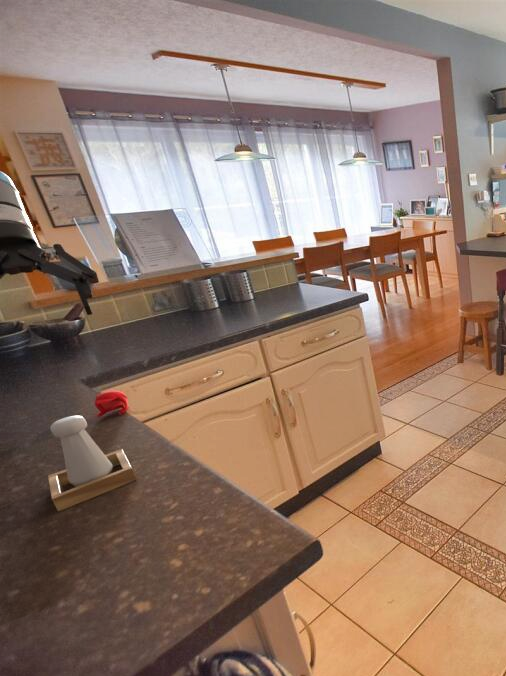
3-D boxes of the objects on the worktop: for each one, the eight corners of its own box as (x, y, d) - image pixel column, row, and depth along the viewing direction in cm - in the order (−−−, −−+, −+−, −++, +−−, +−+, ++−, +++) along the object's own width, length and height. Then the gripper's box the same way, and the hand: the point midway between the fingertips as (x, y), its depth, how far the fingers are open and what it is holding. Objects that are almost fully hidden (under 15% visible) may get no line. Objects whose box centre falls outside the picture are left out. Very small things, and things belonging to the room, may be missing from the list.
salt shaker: (80, 480, 79) (50, 417, 74) (120, 469, 81) (93, 407, 77) (68, 498, 74) (35, 432, 69) (111, 486, 76) (81, 421, 72)
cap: (100, 412, 105) (91, 390, 103) (132, 404, 109) (123, 382, 107) (96, 424, 99) (86, 401, 97) (130, 415, 102) (120, 392, 100)
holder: (53, 487, 77) (47, 475, 76) (126, 459, 84) (122, 448, 83) (58, 511, 71) (51, 499, 70) (136, 479, 78) (131, 467, 77)
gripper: (-110, 227, 74) (-81, 326, 69) (87, 214, 90) (122, 292, 85) (-87, 257, 79) (-58, 350, 74) (95, 239, 96) (128, 314, 91)
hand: (38, 319), depth 80 cm, fingers open, 13 cm apart
